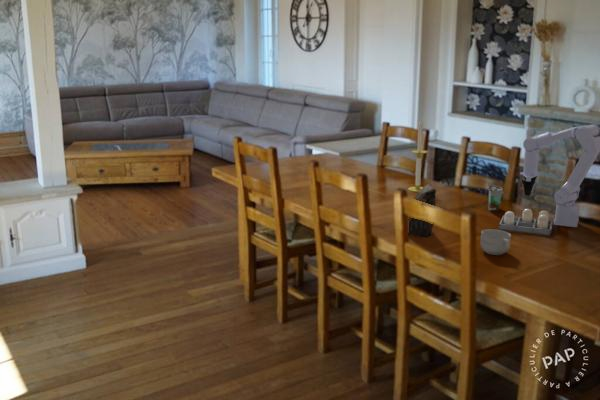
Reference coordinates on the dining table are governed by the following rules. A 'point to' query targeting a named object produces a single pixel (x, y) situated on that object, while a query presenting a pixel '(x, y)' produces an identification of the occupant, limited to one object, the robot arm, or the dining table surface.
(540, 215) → the seated eggs
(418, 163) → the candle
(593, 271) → the dining table surface
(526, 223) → the carton
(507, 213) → the white egg-shaped capsule
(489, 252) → the teacup
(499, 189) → the food container
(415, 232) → the owl
